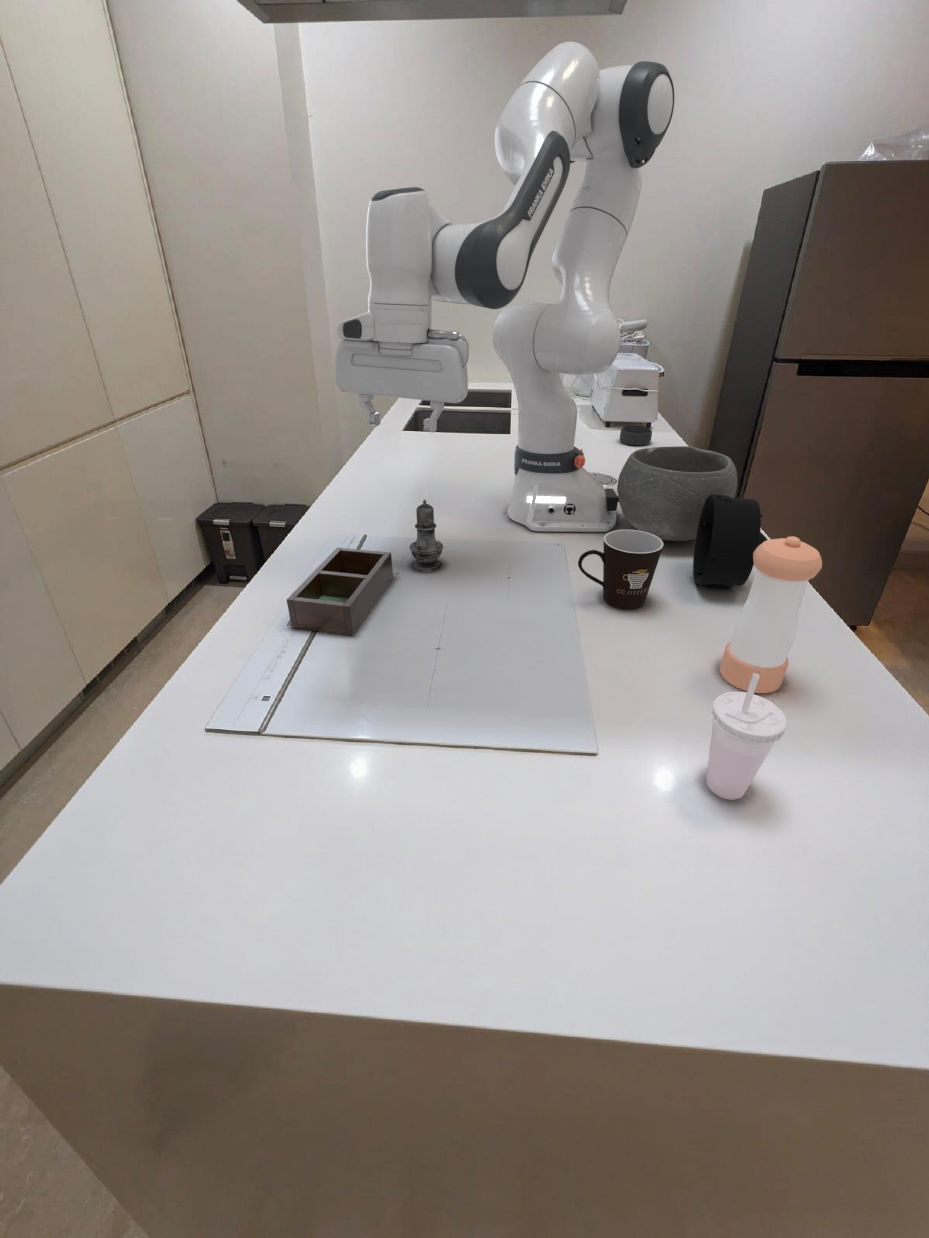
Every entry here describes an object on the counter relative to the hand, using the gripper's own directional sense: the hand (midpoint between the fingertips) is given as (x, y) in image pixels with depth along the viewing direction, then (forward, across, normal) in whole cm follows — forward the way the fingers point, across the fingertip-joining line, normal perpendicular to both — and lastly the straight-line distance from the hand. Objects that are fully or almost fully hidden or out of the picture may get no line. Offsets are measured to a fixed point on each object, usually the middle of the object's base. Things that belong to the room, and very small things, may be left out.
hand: (401, 428), depth 89 cm
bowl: (+21, -42, -31) cm, 56 cm away
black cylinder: (+22, -52, -13) cm, 58 cm away
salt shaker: (+24, -3, -2) cm, 24 cm away
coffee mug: (+23, -36, -2) cm, 42 cm away
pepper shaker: (+23, -55, +13) cm, 61 cm away
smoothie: (+24, -51, +34) cm, 66 cm away
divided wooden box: (+24, +4, +14) cm, 28 cm away
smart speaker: (+18, -29, -98) cm, 103 cm away
